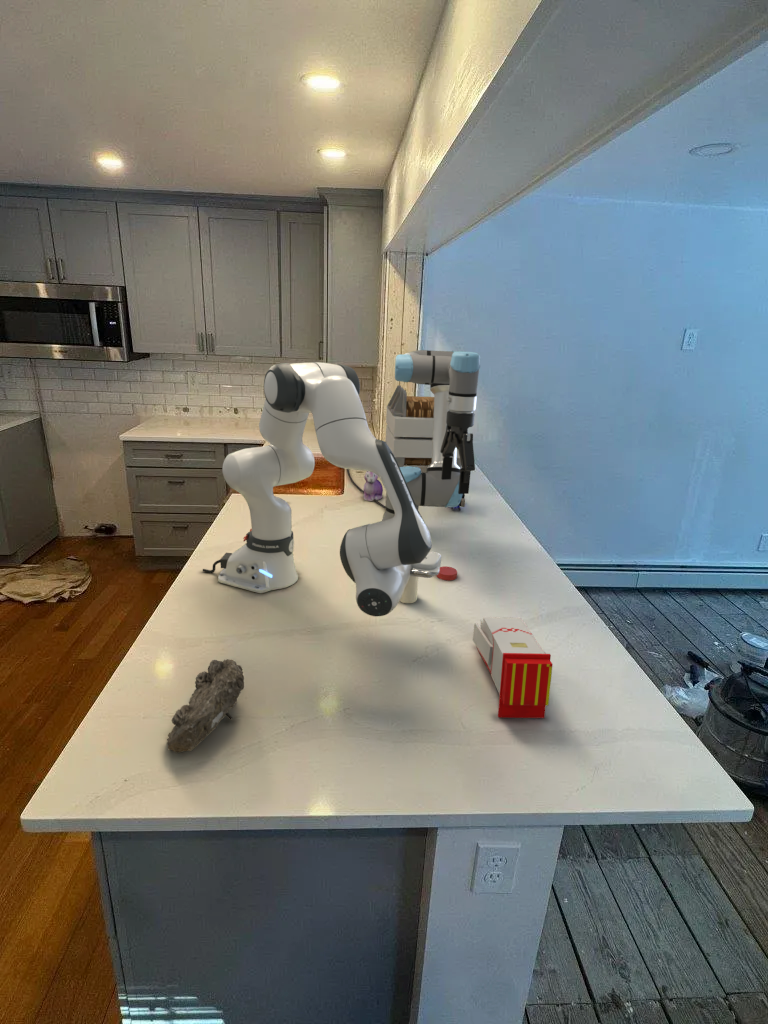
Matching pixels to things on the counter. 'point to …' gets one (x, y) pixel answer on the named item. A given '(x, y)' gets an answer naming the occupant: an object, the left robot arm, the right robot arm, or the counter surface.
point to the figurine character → (460, 503)
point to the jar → (410, 590)
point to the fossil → (206, 705)
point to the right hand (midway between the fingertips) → (454, 486)
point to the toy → (515, 666)
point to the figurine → (372, 487)
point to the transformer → (411, 429)
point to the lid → (447, 573)
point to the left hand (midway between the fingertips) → (402, 546)
